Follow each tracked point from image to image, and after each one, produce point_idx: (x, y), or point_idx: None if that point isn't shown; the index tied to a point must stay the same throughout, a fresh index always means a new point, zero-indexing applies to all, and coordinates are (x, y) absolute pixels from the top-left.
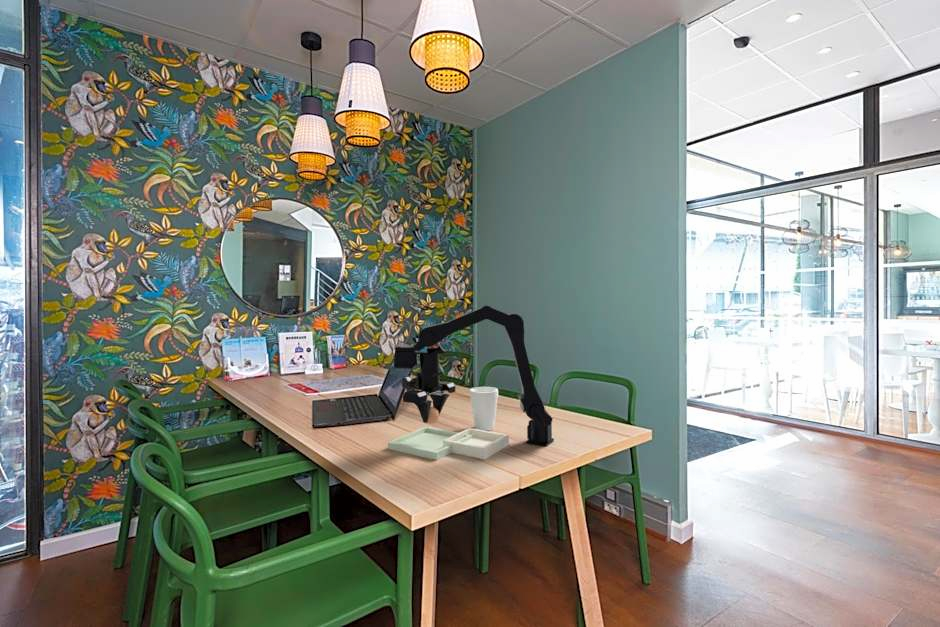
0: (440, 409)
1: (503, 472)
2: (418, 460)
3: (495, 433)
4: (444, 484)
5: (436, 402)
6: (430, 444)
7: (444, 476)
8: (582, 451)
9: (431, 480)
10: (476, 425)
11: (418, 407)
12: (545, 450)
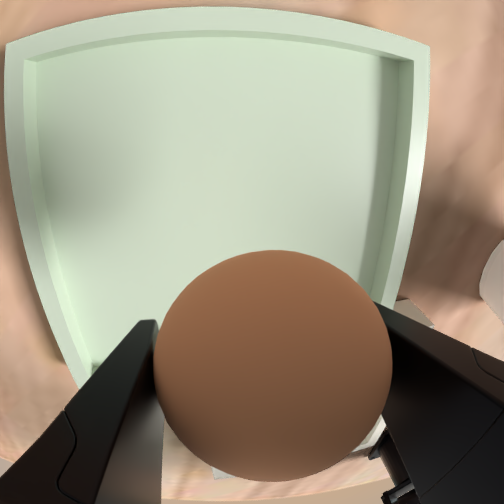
0: (390, 425)
1: (168, 486)
2: (28, 313)
3: (380, 423)
4: (21, 440)
5: (460, 446)
6: (192, 249)
7: (40, 429)
8: (355, 483)
9: (3, 415)
10: (499, 266)
11: (18, 483)
12: (343, 467)
